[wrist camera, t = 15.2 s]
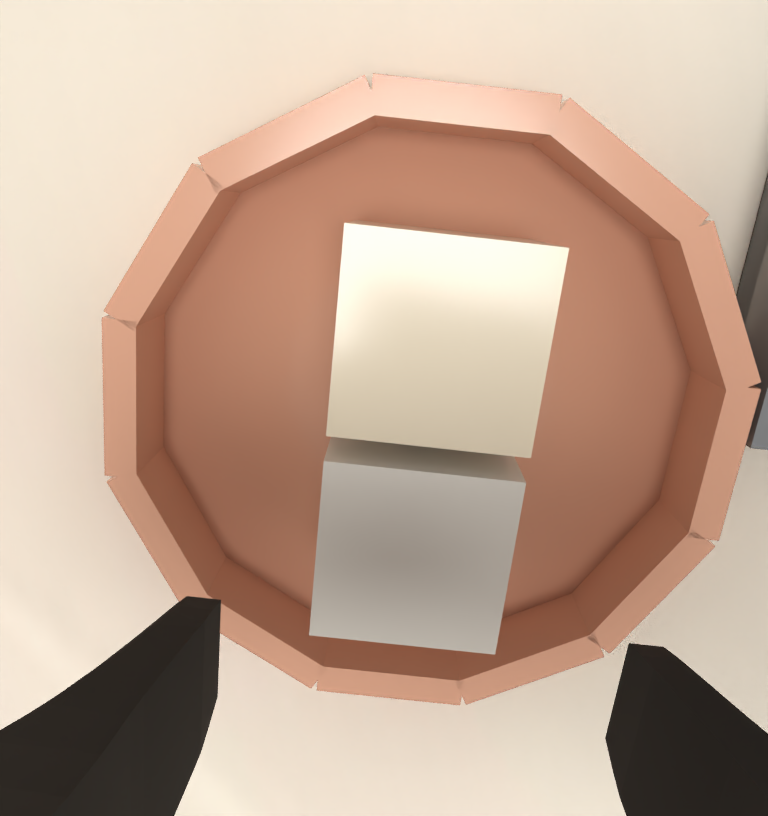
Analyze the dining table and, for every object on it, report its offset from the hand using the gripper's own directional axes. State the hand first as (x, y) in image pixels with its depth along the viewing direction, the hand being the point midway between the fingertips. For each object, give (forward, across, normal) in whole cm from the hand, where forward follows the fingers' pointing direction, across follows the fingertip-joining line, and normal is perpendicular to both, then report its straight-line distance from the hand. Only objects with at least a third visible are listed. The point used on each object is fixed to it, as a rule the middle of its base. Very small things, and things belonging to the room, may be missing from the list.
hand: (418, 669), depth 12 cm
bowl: (+8, 0, -2) cm, 8 cm away
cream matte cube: (+8, 0, -5) cm, 9 cm away
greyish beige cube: (+8, 0, 0) cm, 8 cm away
